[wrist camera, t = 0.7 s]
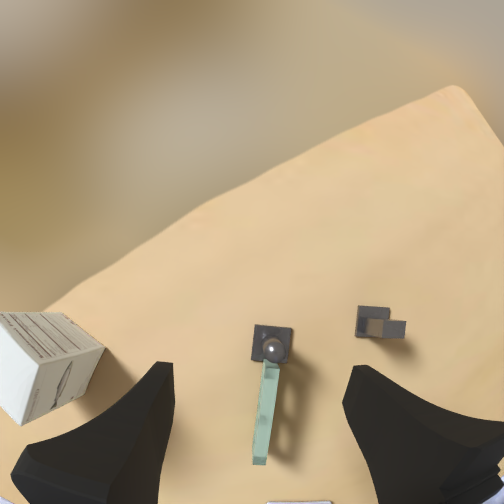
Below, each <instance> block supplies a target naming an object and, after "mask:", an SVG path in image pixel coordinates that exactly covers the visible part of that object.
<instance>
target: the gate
mask: <svg viewBox="0 0 504 504" xmlns="http://www.w3.org/2000/svg"><path fill="white" fill-rule="evenodd" d="M279 371H280V368H279V366H278V364H277V363H271V362H269V361H268V360H267V359H264V360H263V368H262V376H261V384H260V392H259V400H258V407H257V415H256V422H255V430H254V437H253V444H252V460H253V465H266V459H267V453H268V447H269V441H270V434H271V428H272V421H273V414H274V407H275V400H276V393H277V386H278V379H279Z"/></svg>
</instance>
